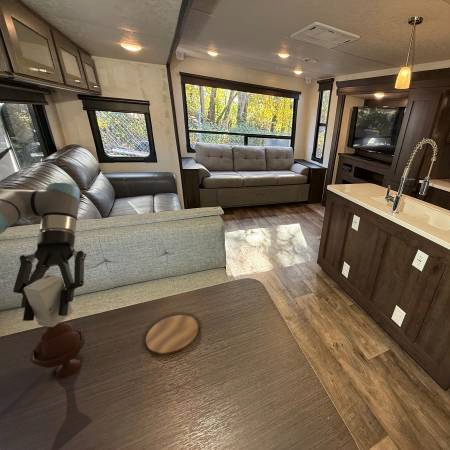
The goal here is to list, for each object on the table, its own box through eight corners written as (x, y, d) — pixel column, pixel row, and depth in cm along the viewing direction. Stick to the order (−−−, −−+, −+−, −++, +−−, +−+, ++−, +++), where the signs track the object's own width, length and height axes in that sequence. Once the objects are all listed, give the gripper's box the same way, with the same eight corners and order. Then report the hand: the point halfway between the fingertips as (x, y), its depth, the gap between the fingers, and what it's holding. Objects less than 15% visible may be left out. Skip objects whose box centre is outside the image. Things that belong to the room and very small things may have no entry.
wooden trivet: (134, 351, 78) (134, 349, 77) (164, 314, 92) (163, 312, 92) (184, 357, 77) (184, 355, 77) (205, 319, 92) (205, 318, 91)
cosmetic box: (53, 328, 65) (38, 291, 60) (37, 325, 65) (21, 288, 60) (74, 311, 71) (63, 276, 66) (60, 309, 71) (47, 274, 66)
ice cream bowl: (33, 375, 68) (13, 335, 62) (81, 346, 77) (68, 309, 72) (52, 395, 64) (32, 355, 58) (100, 362, 73) (88, 324, 67)
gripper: (103, 235, 77) (97, 311, 70) (22, 240, 71) (6, 325, 63) (93, 227, 71) (85, 310, 64) (2, 231, 64) (-18, 325, 57)
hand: (45, 317), depth 63 cm, fingers closed on cosmetic box, 6 cm apart
